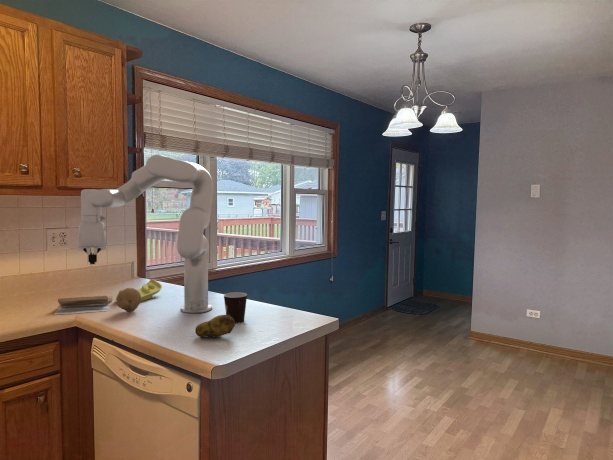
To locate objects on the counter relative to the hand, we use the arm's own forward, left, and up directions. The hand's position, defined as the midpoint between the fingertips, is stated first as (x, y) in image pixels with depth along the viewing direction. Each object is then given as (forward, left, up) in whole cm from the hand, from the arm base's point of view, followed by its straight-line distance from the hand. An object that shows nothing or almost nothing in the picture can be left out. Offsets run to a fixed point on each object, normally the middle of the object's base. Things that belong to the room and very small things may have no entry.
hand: (92, 263), depth 177 cm
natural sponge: (-12, -14, -19) cm, 26 cm away
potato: (-54, -43, -19) cm, 71 cm away
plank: (+2, +4, -16) cm, 17 cm away
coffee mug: (-38, -52, -19) cm, 67 cm away
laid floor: (+4, +4, -19) cm, 19 cm away
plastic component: (+12, -18, -19) cm, 29 cm away
